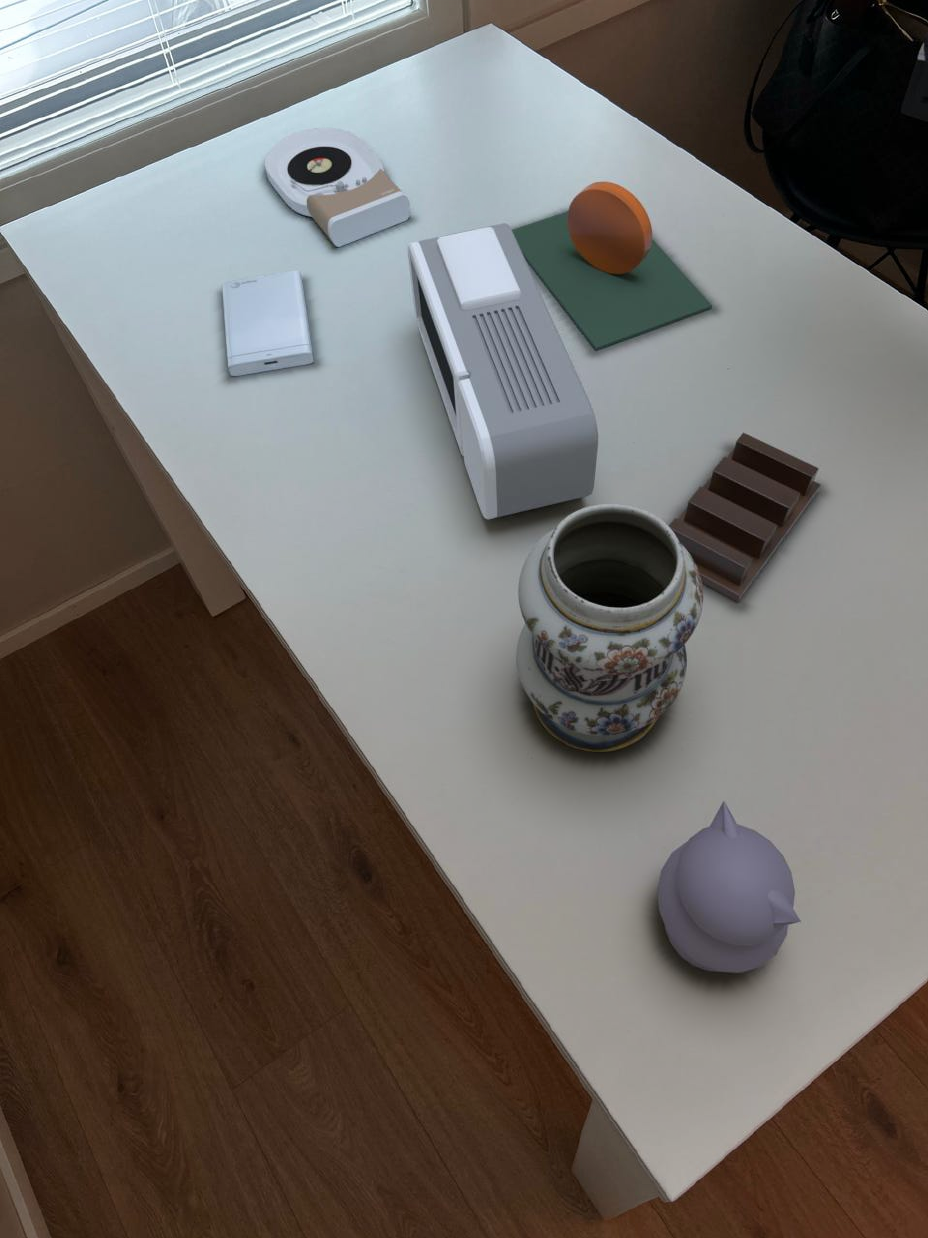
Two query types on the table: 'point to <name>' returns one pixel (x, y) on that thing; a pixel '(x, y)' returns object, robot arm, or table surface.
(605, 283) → the mat
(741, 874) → the cat figurine
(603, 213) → the disc
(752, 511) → the rack
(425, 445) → the table surface
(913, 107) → the robot arm
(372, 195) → the record player
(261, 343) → the hard drive
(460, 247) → the alarm clock
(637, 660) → the apothecary jar
